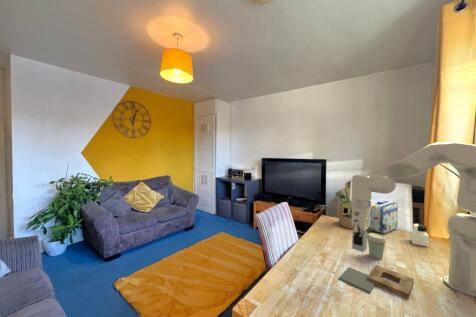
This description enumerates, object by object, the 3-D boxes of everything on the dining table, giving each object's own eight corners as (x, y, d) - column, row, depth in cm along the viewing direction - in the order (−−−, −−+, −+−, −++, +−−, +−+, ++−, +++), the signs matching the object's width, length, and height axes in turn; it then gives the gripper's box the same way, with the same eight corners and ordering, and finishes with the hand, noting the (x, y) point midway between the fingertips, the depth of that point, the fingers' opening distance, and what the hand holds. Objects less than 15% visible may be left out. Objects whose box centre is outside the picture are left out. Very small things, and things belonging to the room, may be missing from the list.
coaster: (377, 280, 88) (377, 278, 88) (369, 293, 80) (369, 291, 80) (348, 268, 96) (348, 266, 96) (339, 279, 89) (339, 277, 88)
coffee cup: (388, 262, 102) (389, 239, 102) (370, 260, 104) (371, 238, 103) (380, 253, 111) (381, 233, 110) (363, 252, 112) (364, 231, 112)
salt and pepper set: (425, 242, 125) (425, 224, 124) (428, 247, 119) (429, 227, 118) (410, 239, 128) (411, 222, 128) (412, 244, 122) (413, 225, 122)
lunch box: (383, 237, 132) (384, 205, 131) (367, 231, 141) (368, 201, 140) (399, 228, 147) (400, 200, 146) (383, 224, 155) (384, 197, 155)
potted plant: (344, 220, 164) (345, 185, 163) (367, 227, 150) (369, 188, 148) (329, 225, 152) (330, 187, 150) (353, 234, 137) (354, 192, 136)
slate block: (366, 248, 87) (367, 231, 87) (363, 252, 84) (364, 234, 84) (355, 245, 91) (356, 228, 90) (352, 248, 88) (352, 231, 87)
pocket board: (413, 283, 86) (413, 278, 86) (408, 299, 77) (408, 294, 77) (375, 268, 96) (375, 264, 96) (367, 281, 87) (367, 276, 87)
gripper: (364, 208, 78) (363, 252, 79) (376, 201, 89) (374, 240, 90) (344, 204, 84) (343, 245, 85) (357, 198, 95) (356, 234, 96)
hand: (359, 242), depth 87 cm, fingers closed on slate block, 4 cm apart
